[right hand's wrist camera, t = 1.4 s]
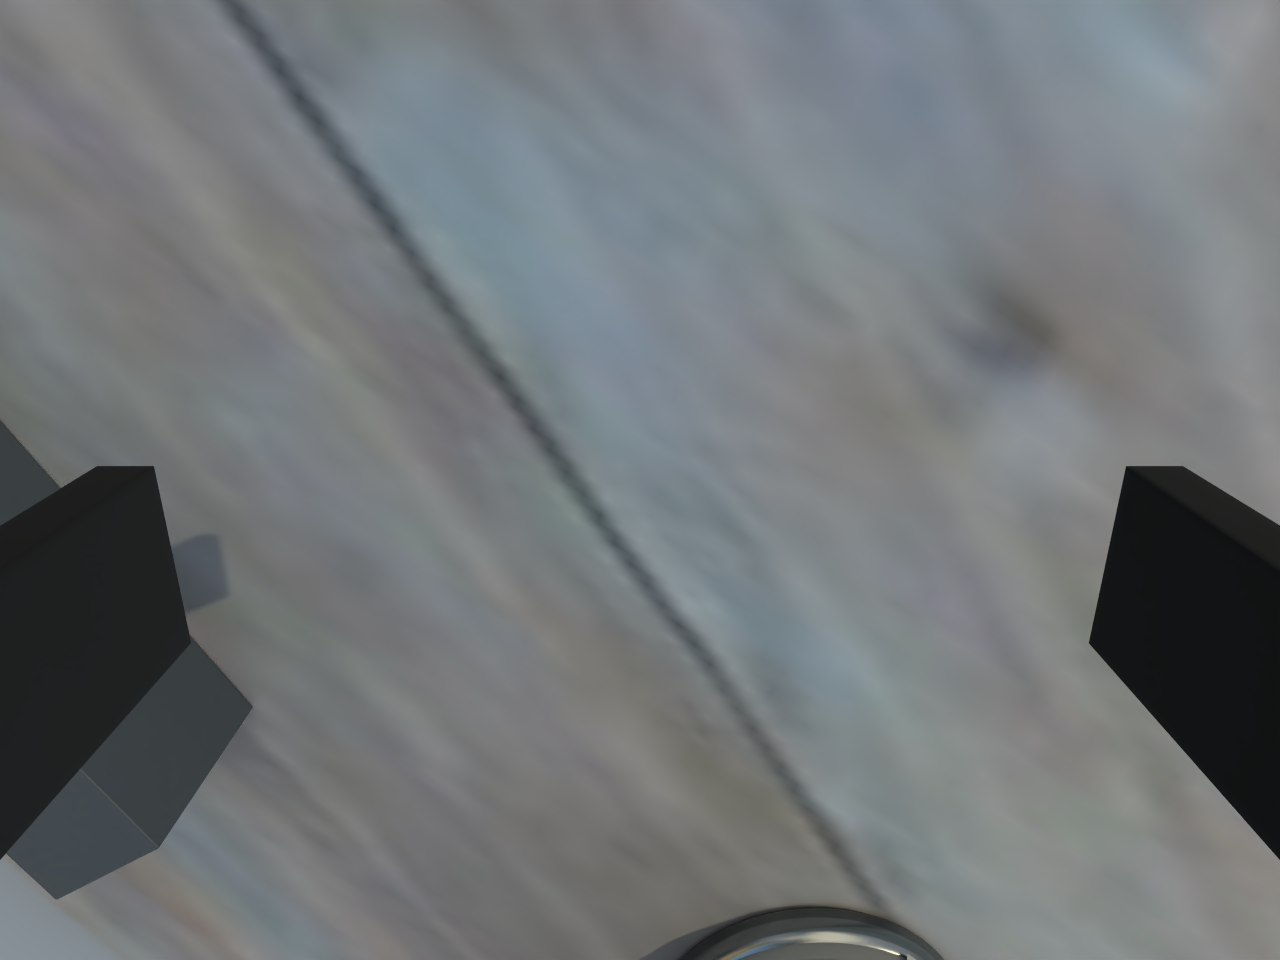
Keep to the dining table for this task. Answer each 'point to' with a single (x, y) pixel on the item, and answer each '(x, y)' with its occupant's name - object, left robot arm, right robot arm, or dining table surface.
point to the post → (123, 747)
